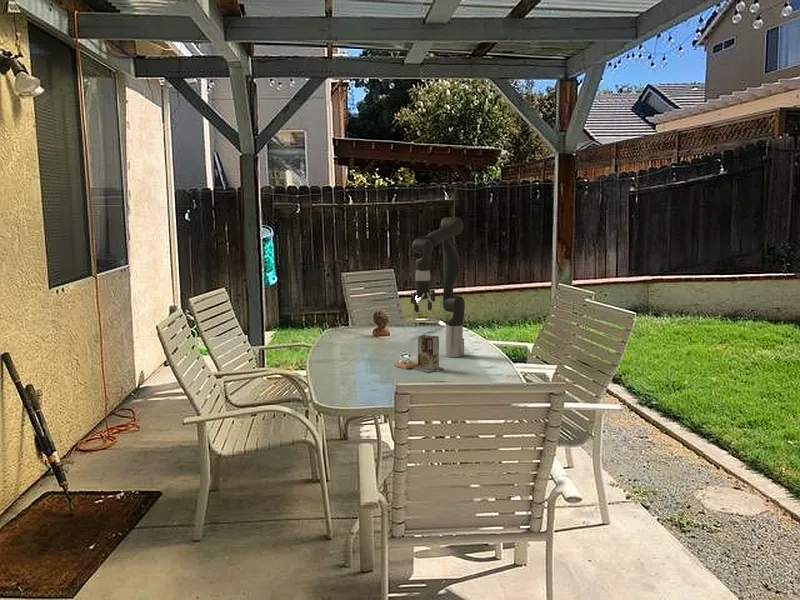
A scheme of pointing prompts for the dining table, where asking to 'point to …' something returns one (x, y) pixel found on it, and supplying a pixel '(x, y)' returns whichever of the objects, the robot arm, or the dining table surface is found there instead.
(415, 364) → the marble dish
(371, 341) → the dining table surface
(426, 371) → the rubber mat
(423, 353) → the coffee box
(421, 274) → the robot arm
